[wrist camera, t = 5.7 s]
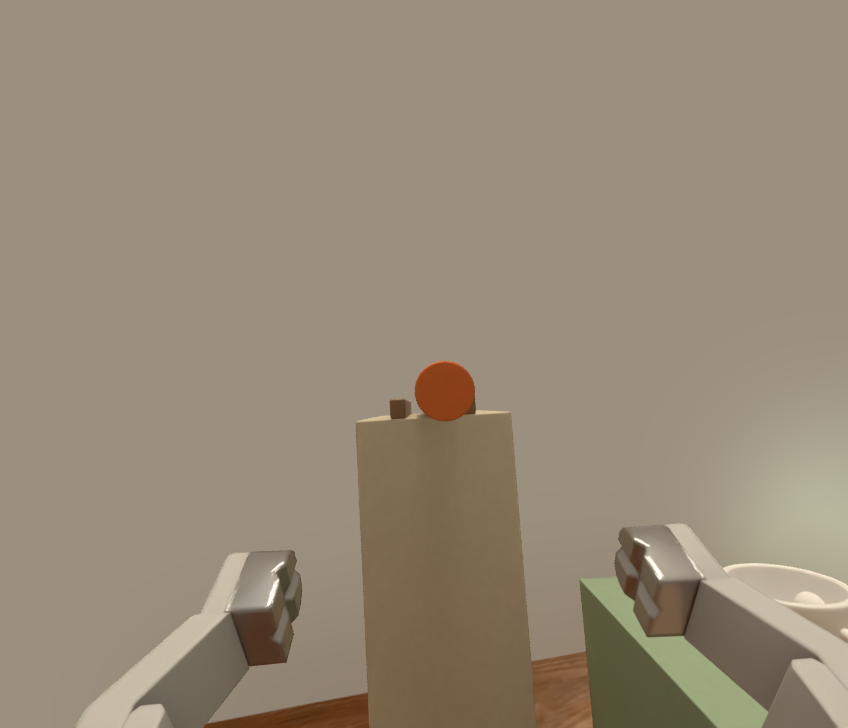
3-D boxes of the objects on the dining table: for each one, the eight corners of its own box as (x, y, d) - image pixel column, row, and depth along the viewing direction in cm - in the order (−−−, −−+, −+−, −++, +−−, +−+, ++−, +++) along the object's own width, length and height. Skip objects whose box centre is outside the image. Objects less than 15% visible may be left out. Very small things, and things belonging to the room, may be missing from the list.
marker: (410, 416, 14) (419, 356, 14) (416, 411, 34) (419, 385, 34) (470, 425, 14) (479, 365, 14) (441, 414, 34) (444, 389, 34)
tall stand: (381, 1002, 20) (354, 401, 22) (397, 754, 33) (379, 404, 36) (558, 987, 20) (509, 392, 22) (500, 746, 34) (475, 398, 36)
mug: (962, 745, 31) (939, 612, 32) (834, 767, 30) (814, 628, 31) (801, 652, 43) (787, 557, 44) (705, 665, 42) (693, 567, 43)
